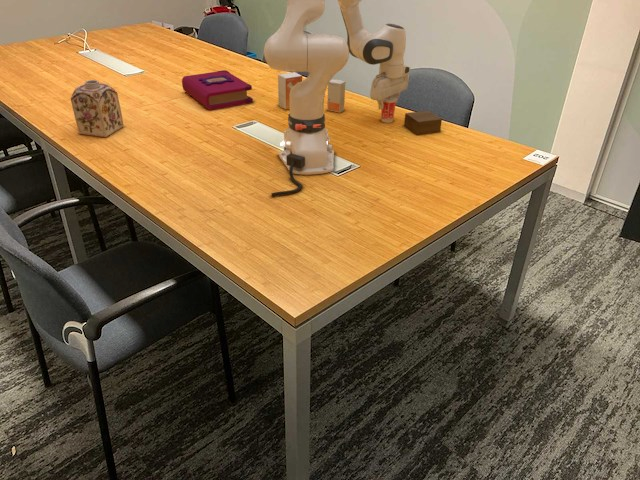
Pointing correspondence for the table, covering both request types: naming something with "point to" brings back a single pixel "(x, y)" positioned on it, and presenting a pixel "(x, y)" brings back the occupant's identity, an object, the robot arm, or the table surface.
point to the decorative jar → (96, 109)
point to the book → (217, 89)
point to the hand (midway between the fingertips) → (387, 106)
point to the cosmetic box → (336, 95)
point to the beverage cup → (388, 109)
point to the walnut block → (422, 122)
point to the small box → (286, 87)
